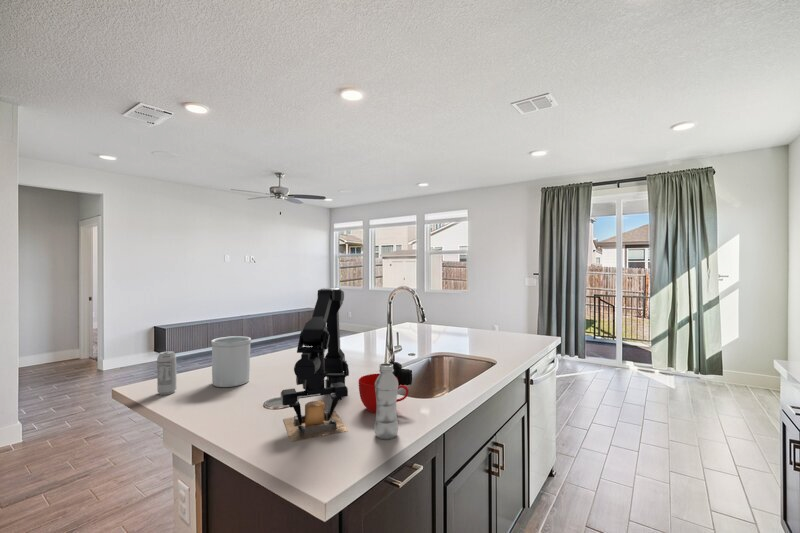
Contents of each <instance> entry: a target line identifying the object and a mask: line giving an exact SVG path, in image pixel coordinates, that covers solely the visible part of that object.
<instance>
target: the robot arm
mask: <svg viewBox="0 0 800 533" xmlns="http://www.w3.org/2000/svg"><path fill="white" fill-rule="evenodd" d="M344 299H345V292H344V291H343V290H342V289H341V288H340V287H339V288H337V287H335V288H333V287H329V288H324V287H323V288H320V289H318V290H317V299H316V302H315V305H314V308H313V312H312V315H311V318H310V319H309V320H308V321H307V322H305V324H304V326H303V328H302V330H301V331H300V334H299V339H298V344H297V350H296V353H298V354H301V355H300V359H298V360H297V361H296V362H295V364H294V367H293V372H294V375H295V378H296V380H295V382H296V385H297V386H301V385H302V389H303V390H300V391H297V390H296V389H295V388H294V387H293V388H286V389H283V390H281V392H280V402H281V404H282V406H288V407H289V408H293V410H294V412H295V414H296V416H297V417H298V420H299V423H300V425H302V418H301V415H302V409H301V408H302V407H301V402H300V401H299V399H306V398H311V397H312V398H313V397H319V396H326V395H327V397H328V398H327V399H328V401H327V402H328V403H327V411H328V413H327V416H328V420H330V418H331V416H332V413H333V411H335V408H336V407H337V405H338V403H339V402H340V401H341V400H342V398H345V397H348V396H349V395H348V394H349V389H348V387H347V386H346V378H347V377H349V376H350V370H349V364H348V361H347V360H346V356H345V353H344V352H343V350H342V349H341V340H340V339H341V337H340V336H341V335H340V317H339V316H340V315H339V314H340V313H339V311H340V309H341V307H342V305H343V303H344V301H345V300H344ZM326 350H327V353H326V354H325V352H326ZM325 378H326V379H325Z"/></svg>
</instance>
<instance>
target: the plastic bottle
mask: <svg viewBox="0 0 800 533" xmlns="http://www.w3.org/2000/svg"><path fill="white" fill-rule="evenodd" d="M378 371H379V372H378V373H379V374H380V375H379V376H378V377H377V379H376V381H375V392H376V403H377V411H376V413H375V422H374V425H373V430H374V434H375V436H376V437H377V438H378V439H380V438H381V439H380V440H391V439H390V438H392V439H394V438H395V437H397V435H398V433H399V420H398V417H397V416H398V415H397V402H396V401H397V399H398V398H397V397H398V391H399V389H398V380H397V379H396V377H395V376H394V374H393V373H392V372H393V371H394V370H393V364H391V363H389V362H386V363H385V362H384V363H380V364H379V370H378ZM393 437H394V438H393Z"/></svg>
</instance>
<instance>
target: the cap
mask: <svg viewBox="0 0 800 533" xmlns="http://www.w3.org/2000/svg"><path fill="white" fill-rule="evenodd" d="M324 411H325V402H324V401H322V400H321V401H320V400H312V401H308V402H306V403H305V405H304V414H305V427H307V426H313V425H318V424H324V423H325V419H324Z"/></svg>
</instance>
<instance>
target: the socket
mask: <svg viewBox="0 0 800 533" xmlns="http://www.w3.org/2000/svg"><path fill="white" fill-rule="evenodd" d="M327 413H328V410H324V419H325V423H324V424H318V425H313V426H307V427H305V413H303V414H301V418H302V425H300V423H299V420H298V417H297V415H294V416H292V417H287V418H283V422H284V426H285V429H286V433H287V436H288V438H289V442H290V443H292V442H297V441H303V440H308V439H315V438H318V437H319V438H320V437H323V436H329V435H335V434H340V433H341V434H342V433H346V431H347V432H349V429H348V427H347V426H346V425H345V423H344V422H343V420H342V418H341V417H340V416H339V414H338V413H337V412H336V410H334V411H333V413H332V416H331V418H330V420H328V416H327Z"/></svg>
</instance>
